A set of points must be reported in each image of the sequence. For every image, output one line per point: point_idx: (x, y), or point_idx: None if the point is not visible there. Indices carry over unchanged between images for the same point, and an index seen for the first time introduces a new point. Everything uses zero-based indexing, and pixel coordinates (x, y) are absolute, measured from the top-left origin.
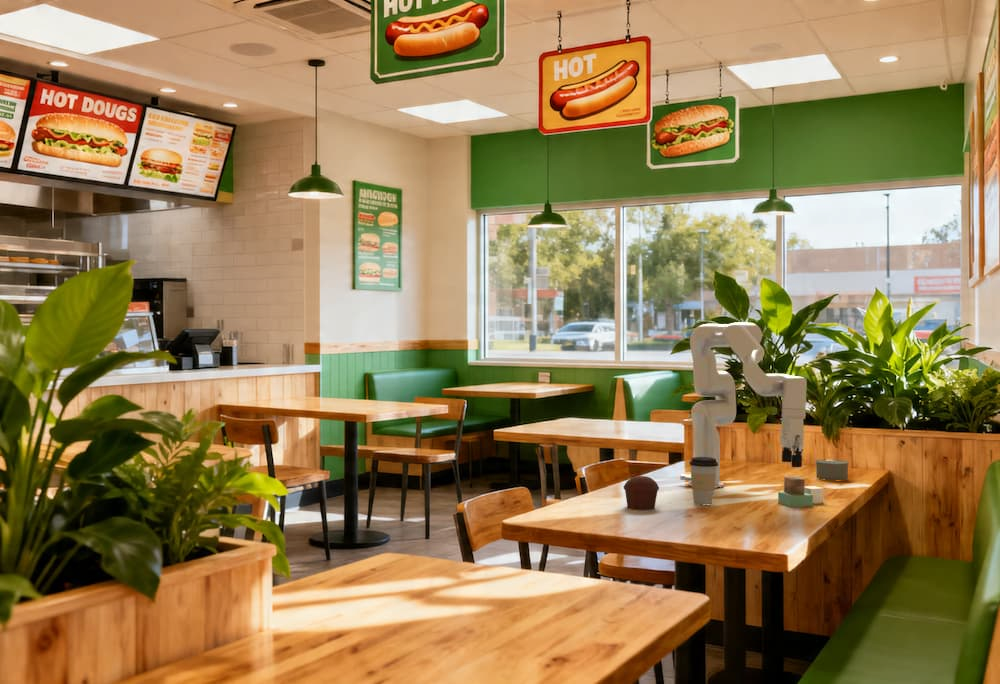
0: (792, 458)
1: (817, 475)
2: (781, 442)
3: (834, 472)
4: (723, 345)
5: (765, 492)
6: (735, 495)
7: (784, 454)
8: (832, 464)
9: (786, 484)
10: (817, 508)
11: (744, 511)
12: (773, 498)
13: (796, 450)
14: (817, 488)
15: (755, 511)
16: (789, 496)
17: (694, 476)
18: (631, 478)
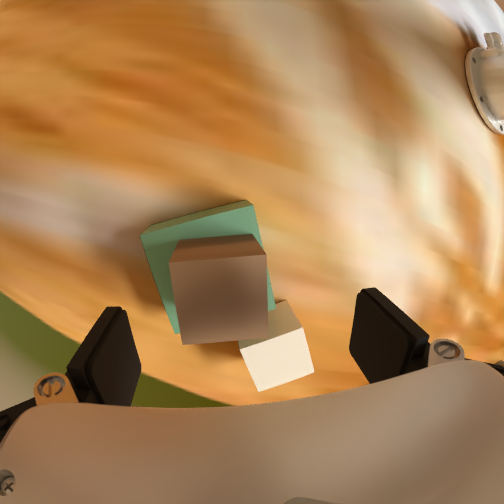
0: (82, 346)
1: (501, 365)
2: (433, 394)
3: None
4: None
5: (433, 217)
6: (386, 89)
7: (386, 334)
8: None
9: (223, 246)
10: (140, 316)
11: (70, 48)
12: (338, 208)
13: (2, 412)
14: (253, 374)
15: (66, 81)
16: (150, 231)
17: None
18: None
